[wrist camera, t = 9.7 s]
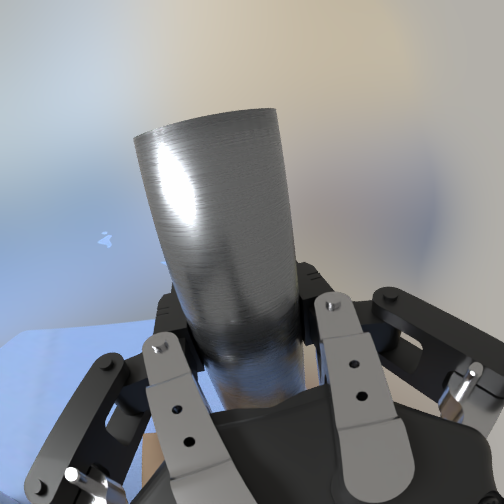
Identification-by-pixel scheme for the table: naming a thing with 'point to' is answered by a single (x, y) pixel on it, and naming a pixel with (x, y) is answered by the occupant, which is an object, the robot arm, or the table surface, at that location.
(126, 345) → the table surface
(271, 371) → the steel pin
